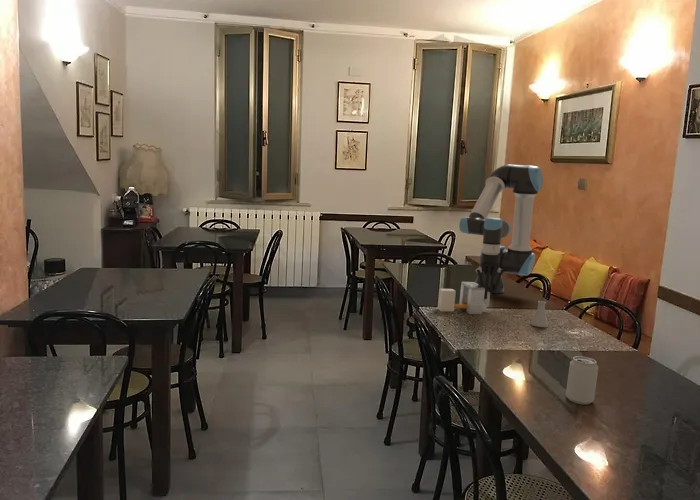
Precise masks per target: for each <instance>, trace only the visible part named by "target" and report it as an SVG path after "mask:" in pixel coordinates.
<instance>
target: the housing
mask: <svg viewBox="0 0 700 500" xmlns="http://www.w3.org/2000/svg"><path fill="white" fill-rule="evenodd" d="M460 283H461V285H460V290H459V300H458V301H459V303H458V304H467V309H466V308H460V309H461V310H463V309H465V310H466V313H467V314H469V315H483V313H484V312H483V303H484V302H485V299H484V294H485V288H484V287H482V286H480V285H479V284H477V283H475V281H461V282H460Z"/></svg>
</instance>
